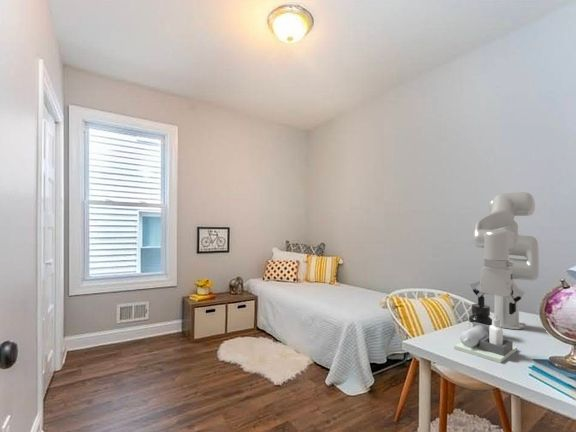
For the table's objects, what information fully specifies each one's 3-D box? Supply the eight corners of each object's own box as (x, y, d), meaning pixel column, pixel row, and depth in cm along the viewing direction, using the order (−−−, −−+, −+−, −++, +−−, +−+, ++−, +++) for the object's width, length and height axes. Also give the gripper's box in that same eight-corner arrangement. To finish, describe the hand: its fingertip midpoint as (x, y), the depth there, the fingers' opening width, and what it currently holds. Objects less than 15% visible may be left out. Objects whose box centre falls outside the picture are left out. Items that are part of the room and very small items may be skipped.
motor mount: (473, 338, 129) (473, 320, 130) (517, 350, 118) (517, 330, 118) (454, 348, 118) (454, 329, 118) (500, 363, 106) (500, 341, 107)
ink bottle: (464, 332, 137) (464, 304, 137) (473, 328, 142) (473, 302, 142) (488, 339, 129) (488, 309, 129) (497, 334, 134) (497, 306, 134)
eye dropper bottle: (503, 347, 117) (503, 315, 117) (502, 352, 112) (502, 318, 113) (489, 344, 119) (489, 313, 120) (487, 349, 115) (488, 316, 115)
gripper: (527, 266, 112) (527, 314, 112) (474, 260, 125) (474, 303, 125) (521, 268, 107) (521, 318, 107) (466, 262, 120) (467, 307, 120)
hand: (496, 310), depth 116 cm, fingers open, 9 cm apart
